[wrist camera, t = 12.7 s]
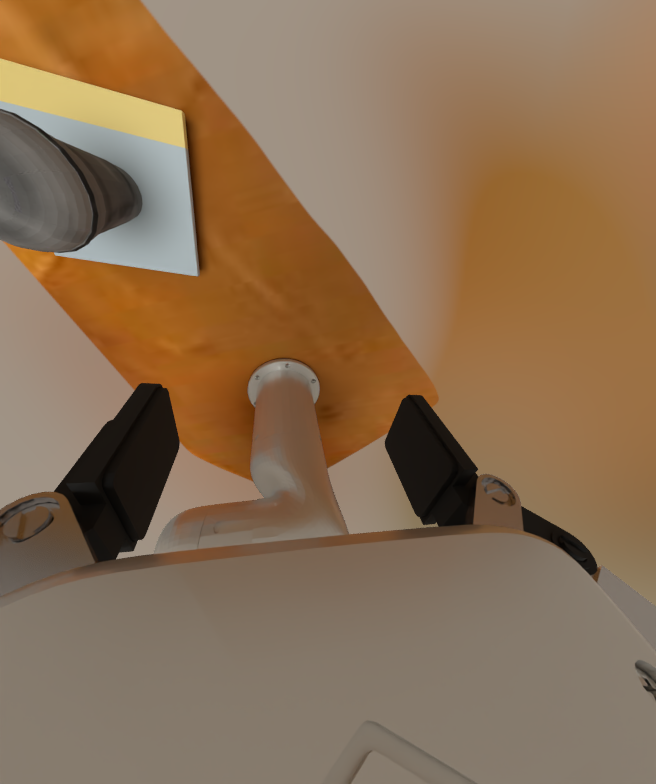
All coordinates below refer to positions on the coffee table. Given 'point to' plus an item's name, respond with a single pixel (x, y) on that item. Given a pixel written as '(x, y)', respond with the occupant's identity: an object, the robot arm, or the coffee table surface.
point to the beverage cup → (57, 190)
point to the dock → (119, 162)
